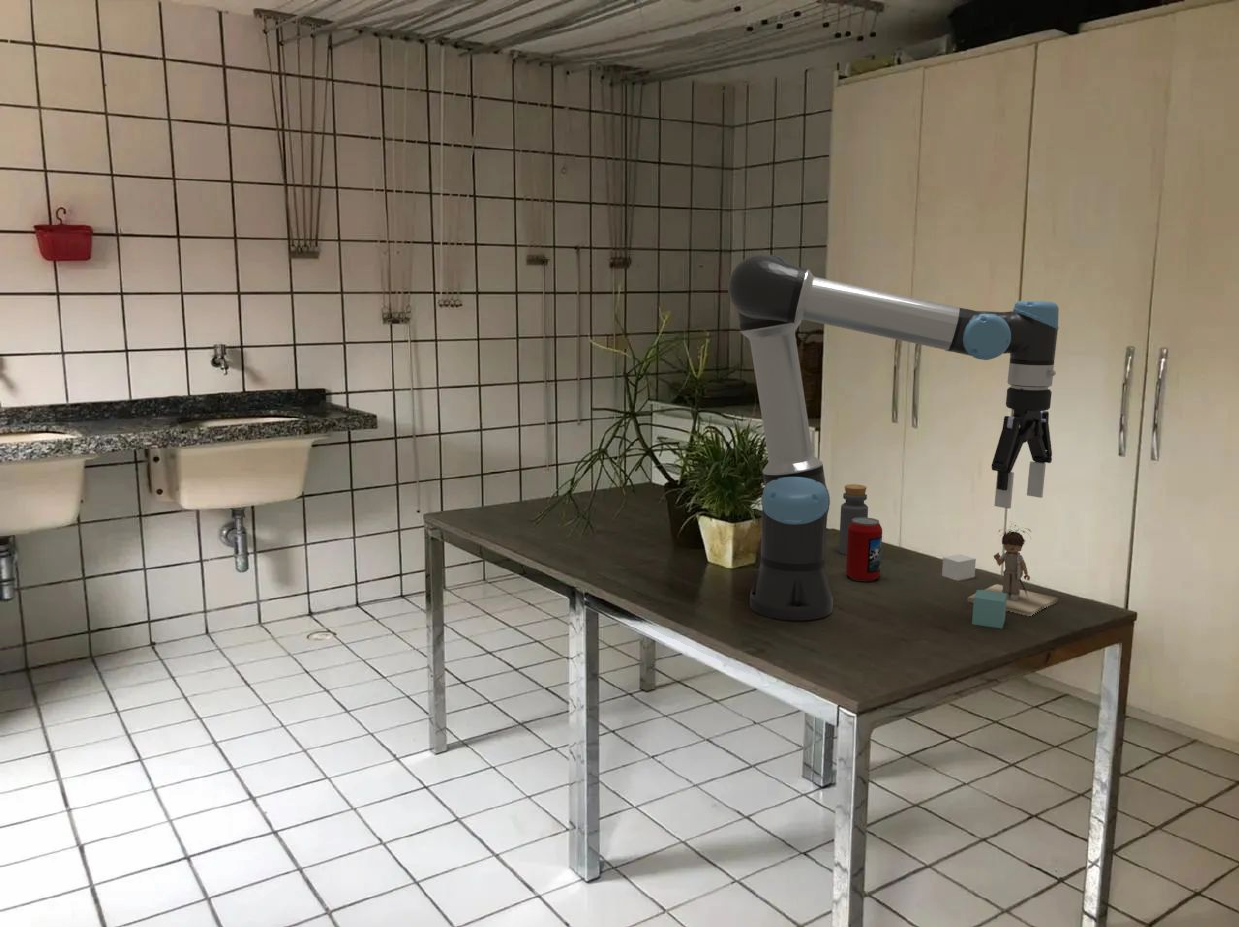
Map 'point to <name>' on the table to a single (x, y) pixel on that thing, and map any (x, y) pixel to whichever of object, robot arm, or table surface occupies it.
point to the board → (1023, 601)
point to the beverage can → (864, 549)
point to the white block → (958, 567)
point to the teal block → (989, 609)
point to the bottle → (851, 511)
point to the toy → (1012, 563)
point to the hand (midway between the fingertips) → (1018, 501)
